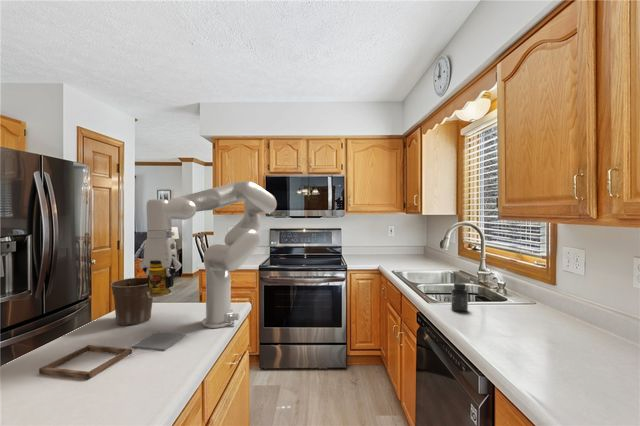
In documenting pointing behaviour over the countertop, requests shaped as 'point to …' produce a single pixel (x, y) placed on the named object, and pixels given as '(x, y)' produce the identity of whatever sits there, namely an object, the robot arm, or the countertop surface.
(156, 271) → the condiment
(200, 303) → the countertop surface
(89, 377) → the wooden square frame
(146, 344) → the mat
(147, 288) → the plant pot
